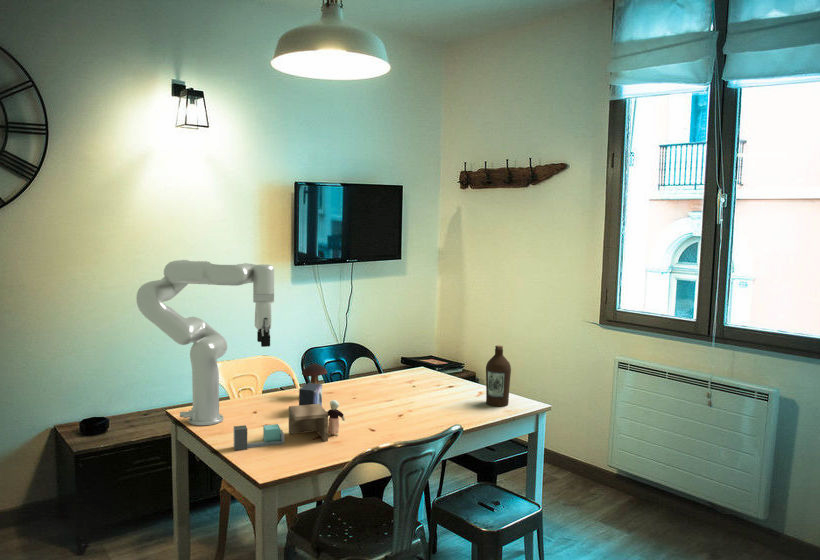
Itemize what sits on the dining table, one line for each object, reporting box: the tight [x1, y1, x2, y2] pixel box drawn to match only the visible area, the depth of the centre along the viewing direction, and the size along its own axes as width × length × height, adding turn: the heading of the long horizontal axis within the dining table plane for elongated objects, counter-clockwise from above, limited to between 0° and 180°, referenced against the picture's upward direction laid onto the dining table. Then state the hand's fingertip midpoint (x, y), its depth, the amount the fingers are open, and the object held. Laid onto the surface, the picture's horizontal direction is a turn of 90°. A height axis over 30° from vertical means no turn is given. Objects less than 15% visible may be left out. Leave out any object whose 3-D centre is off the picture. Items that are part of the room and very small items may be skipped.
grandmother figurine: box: [326, 399, 346, 437], centre depth 228 cm, size 8×4×13 cm, turn 93°
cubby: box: [288, 404, 329, 442], centre depth 225 cm, size 11×13×10 cm
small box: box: [298, 382, 323, 407], centre depth 255 cm, size 11×6×10 cm, turn 168°
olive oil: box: [485, 345, 512, 408], centre depth 272 cm, size 11×11×25 cm
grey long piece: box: [233, 425, 285, 452], centre depth 216 cm, size 16×6×7 cm, turn 111°
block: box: [262, 423, 281, 442], centre depth 221 cm, size 5×5×5 cm
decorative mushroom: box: [301, 362, 328, 384], centre depth 276 cm, size 11×11×15 cm
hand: (263, 344), depth 236 cm, fingers open, 9 cm apart
